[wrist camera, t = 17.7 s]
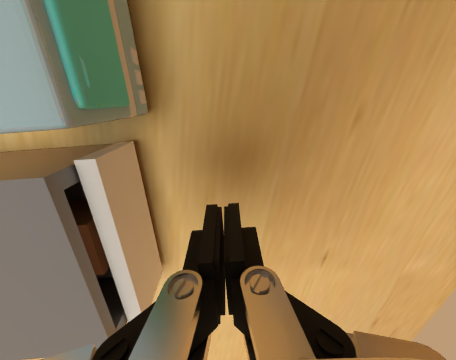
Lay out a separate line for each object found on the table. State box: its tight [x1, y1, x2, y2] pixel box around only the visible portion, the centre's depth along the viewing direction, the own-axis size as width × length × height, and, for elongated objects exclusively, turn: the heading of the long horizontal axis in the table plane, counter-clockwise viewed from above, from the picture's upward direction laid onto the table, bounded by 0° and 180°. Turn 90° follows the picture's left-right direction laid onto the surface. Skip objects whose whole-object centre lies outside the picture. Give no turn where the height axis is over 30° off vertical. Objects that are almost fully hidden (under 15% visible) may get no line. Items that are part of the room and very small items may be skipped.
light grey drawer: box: [64, 141, 163, 322], centre depth 19 cm, size 17×16×6 cm
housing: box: [0, 144, 128, 360], centre depth 19 cm, size 18×15×10 cm
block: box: [67, 199, 109, 275], centre depth 19 cm, size 5×5×5 cm
